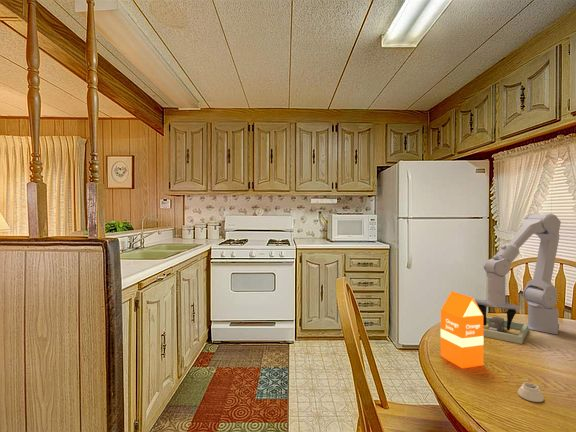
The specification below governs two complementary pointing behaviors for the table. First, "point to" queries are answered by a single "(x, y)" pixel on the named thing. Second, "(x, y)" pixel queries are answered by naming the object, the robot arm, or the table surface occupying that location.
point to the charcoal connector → (496, 324)
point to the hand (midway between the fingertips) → (496, 327)
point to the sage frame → (506, 336)
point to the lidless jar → (530, 392)
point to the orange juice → (462, 331)
